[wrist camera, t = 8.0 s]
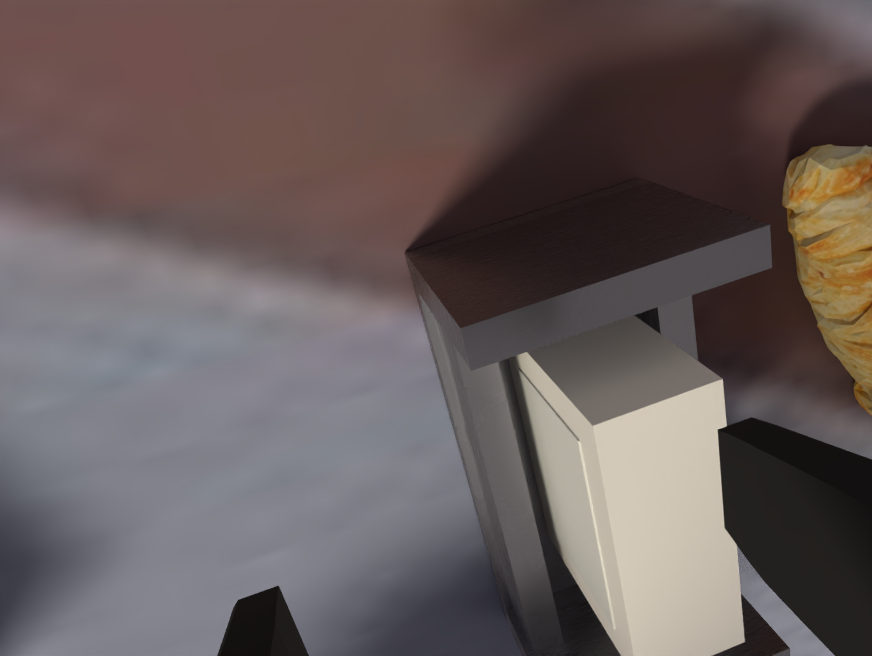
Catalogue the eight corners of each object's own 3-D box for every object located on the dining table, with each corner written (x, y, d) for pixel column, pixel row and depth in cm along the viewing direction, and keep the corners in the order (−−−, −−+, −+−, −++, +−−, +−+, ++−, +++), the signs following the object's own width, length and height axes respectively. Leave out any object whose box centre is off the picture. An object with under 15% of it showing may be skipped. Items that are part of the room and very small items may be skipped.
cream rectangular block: (633, 504, 24) (746, 641, 19) (547, 537, 24) (637, 686, 18) (598, 288, 21) (724, 378, 15) (497, 322, 20) (590, 426, 15)
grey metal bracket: (685, 549, 26) (790, 672, 21) (506, 619, 25) (571, 764, 20) (639, 177, 20) (770, 224, 15) (404, 252, 19) (460, 328, 14)
